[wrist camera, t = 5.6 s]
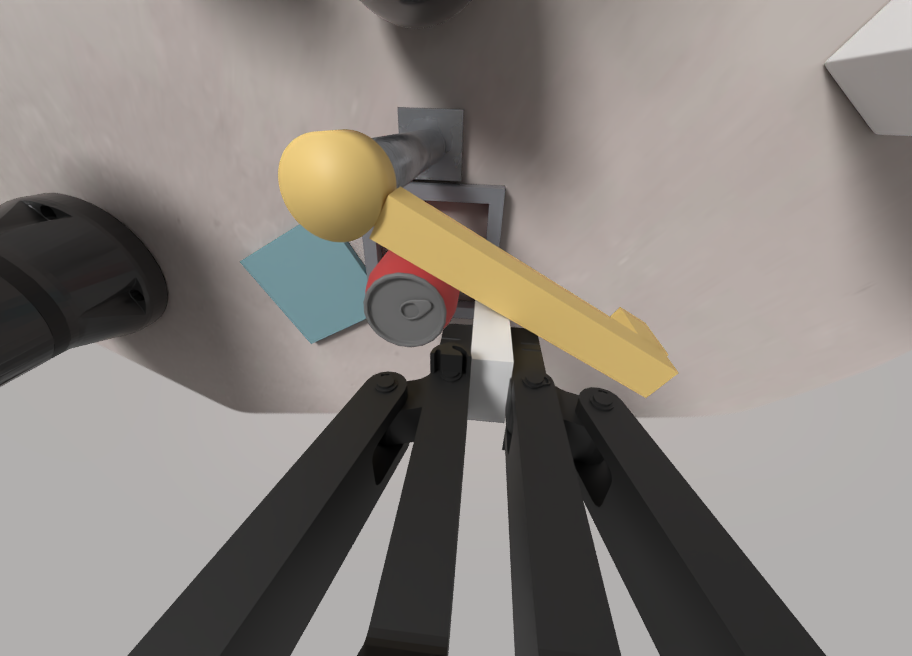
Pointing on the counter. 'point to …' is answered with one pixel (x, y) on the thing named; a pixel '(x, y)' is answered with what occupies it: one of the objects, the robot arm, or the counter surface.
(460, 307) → the collar
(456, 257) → the clip arm
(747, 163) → the counter surface
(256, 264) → the mat
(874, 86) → the milk carton
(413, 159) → the post
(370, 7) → the pump dispenser
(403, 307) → the beer can
